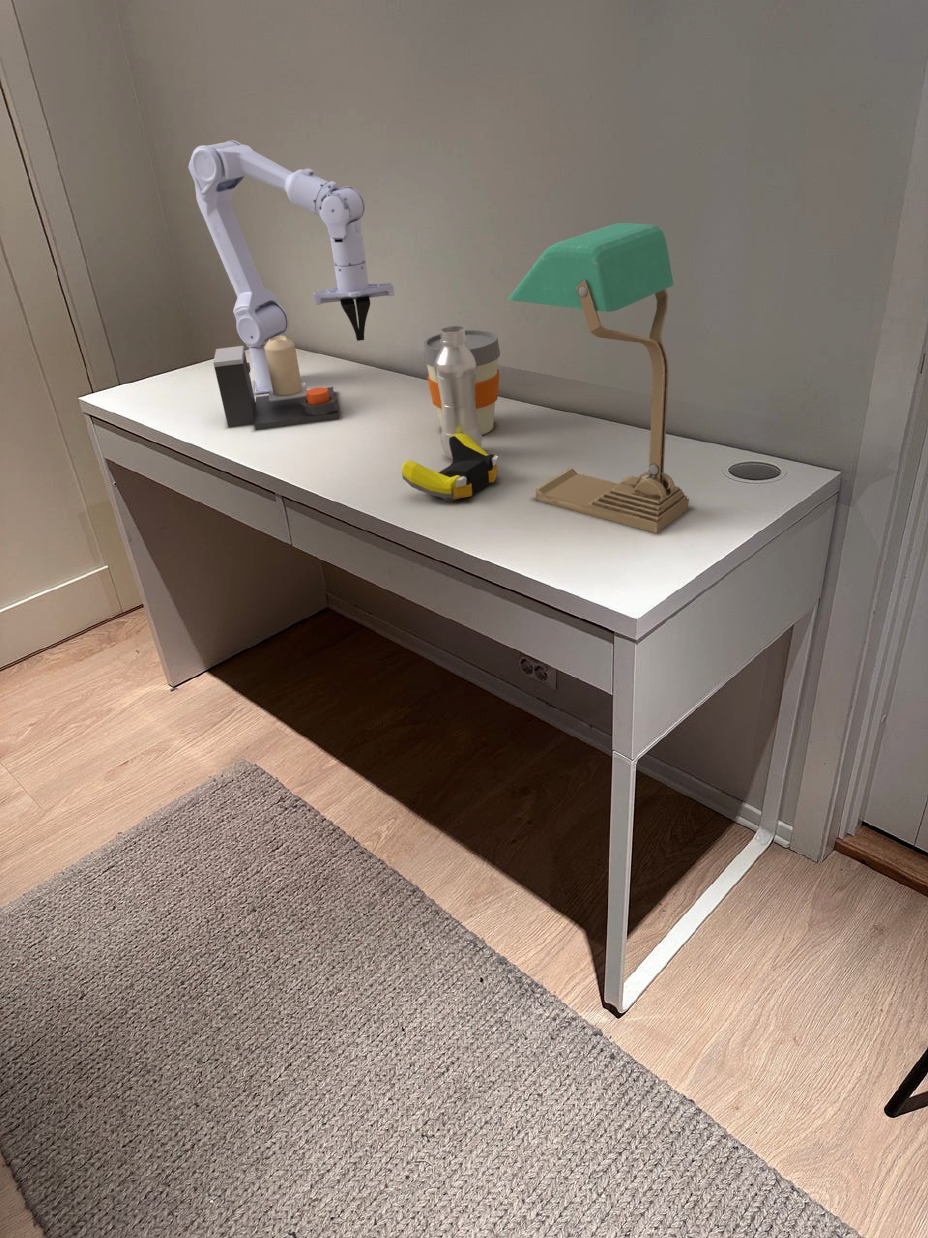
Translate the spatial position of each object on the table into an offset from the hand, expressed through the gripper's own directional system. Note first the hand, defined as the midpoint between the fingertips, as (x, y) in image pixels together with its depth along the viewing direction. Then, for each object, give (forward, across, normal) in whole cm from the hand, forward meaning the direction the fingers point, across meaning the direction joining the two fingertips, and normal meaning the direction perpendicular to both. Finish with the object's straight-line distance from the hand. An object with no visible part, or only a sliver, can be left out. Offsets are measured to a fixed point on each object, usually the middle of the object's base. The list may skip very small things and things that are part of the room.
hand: (360, 339), depth 165 cm
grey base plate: (+10, -14, -5) cm, 18 cm away
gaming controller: (+11, +9, -49) cm, 51 cm away
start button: (+8, -9, -9) cm, 16 cm away
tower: (+10, -19, -4) cm, 22 cm away
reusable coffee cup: (+11, +15, -26) cm, 32 cm away
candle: (+7, -15, -3) cm, 17 cm away
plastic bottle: (+11, +12, -38) cm, 41 cm away
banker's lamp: (+11, +28, -62) cm, 69 cm away
